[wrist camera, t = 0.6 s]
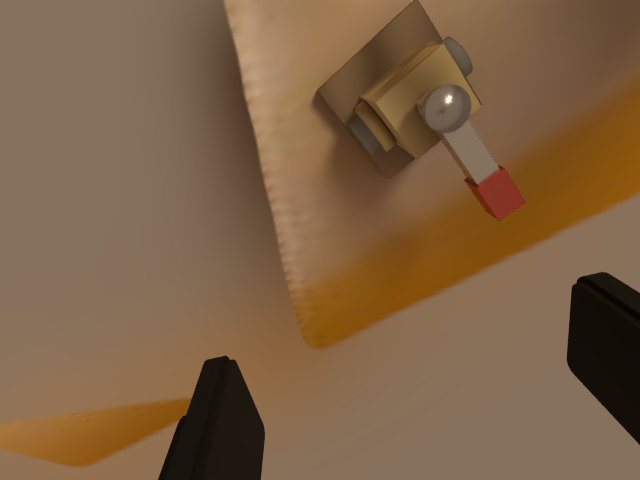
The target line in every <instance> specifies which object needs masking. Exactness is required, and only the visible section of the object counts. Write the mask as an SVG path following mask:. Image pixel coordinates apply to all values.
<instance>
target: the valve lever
mask: <svg viewBox="0 0 640 480" xmlns="http://www.w3.org/2000/svg"><path fill="white" fill-rule="evenodd" d="M415 103H416V110H417V113H418V115H419V116H420V117H421V118H423V121H424V123H425V124H426V125H427V126H428V127H429V128H430V129H432V130H434V131H435V132H436V133H437V135H438V136H439V138H440V139H441V141H442V142H443V144H444V145H445V146H446V148H447V149H448V151H449V152H450V154H451V155H452V157H453V158H454V160H455V161H456V162H457V164H458V165H459V167H460V168H461V170H462V171H463V173H464V174H465V176H466V177H467V178H466V179H465V180H464V181H465V182H466V183H467V185H468V186H469V188H470V189H471V191H472V192H473V194H474V195H475V196H476V198H477V199H478V201H479V202H480V204H481V205H482V206H483V208H484V209H485V211H486V212H488V213H489V214H490V215H492V216H493V217H494V218H496V219H497V220H498V221H500V220H502V219H503V218H504V217H506V216H507V215H509V214H510V213H512V212H513V211H514V210H516V209H517V208H519V207H520V206H522V205H523V204H525V203H526V201H525V200H524V198H523V197H522V195H521V194H520V192H519V190H518V189H517V187H516V186H515V184H514V182H513V181H512V179H511V178H510V176H509V174H508V173H507V171H506V170H505V168H503V167H501V166H499V165H497V164H496V162H495V161H494V159H493V158H492V156H491V154H490V153H489V151H488V150H487V148H486V147H485V145H484V143H483V142H482V140H481V139H480V137H479V136H478V134H477V132H476V131H475V129H474V128H473V126H472V125H471V123H470V121H469V120H468V117H469V115H470V112H471V99H470V96H469V94H468V93H467V91H466V90H465V89H464V88H462V87H460V86H458V85H451V84H436V85H435V86H434V87H432V88H431V89H430V90H429V91H426V92H424V93H423V94H421V95H420V97H419V98H418V100H417V101H416V102H415Z"/></svg>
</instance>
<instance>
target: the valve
mask: <svg viewBox="0 0 640 480" xmlns="http://www.w3.org/2000/svg"><path fill="white" fill-rule="evenodd" d="M471 72H472V63H471V61H470V58H469V56H468V55H467V53H466V52H465V50H464V49H463V47H462V46H461V45H460V44H459V43H458V42H457V41H456V40H454V39H453V38H451V37H447V38H445V39H444V40H442V38H441V37H440V35H439V33H438V32H437V30H436V28H435V27H434V25H433V24H432V22H431V20H430V19H429V17H428V15H427V14H426V12H425V10H424V9H423V7H422V6H421V4H420V2H419V1H418V0H414V1H412V2H411V3H410V4H409V5H408V6H407V7H406V8H405V9H404V10H403V11H402V12H400V13H399V14H398V15H397V16H396V17H395V18H394V19H393V20H392V21H391V22H390V23H389V24H388V25H386V26H385V27H384V28H383V29H382V30H381V31H380V32H379V33H378V34H377V35H376V36H375V37H374V38H373V39H371V40H370V41H369V42H368V43H367V44H366V45H365V46H364V47H363V48H362V49H361V50H360V51H359V52H357V53H356V54H355V55H354V56H353V57H352V58H351V59H350V60H349V61H348V62H347V63H346V64H345V65H344V66H342V67H341V68H340V69H339V70H338V71H337V72H336V73H335V74H334V75H333V76H332V77H331V78H330V79H328V80H327V81H326V82H325V83H324V84H323V85H322V86H321V87H320V88H319V89H318V90H317V91H318V92H319V94H320V95H321V96H322V97H323V99H324V100H325V101H326V102H327V104H328V105H329V106H330V108H331V109H332V110H333V111H334V113H335V114H336V115H337V116H338V118H339V119H340V120H341V121H342V123H343V124H344V125H345V126H346V128H347V129H348V130H349V131H350V133H351V134H352V135H353V137H354V138H355V139H356V140H357V142H358V143H359V144H360V145H361V147H362V148H363V149H364V150H365V152H366V153H367V154H368V155H369V157H370V158H371V159H372V160H373V162H374V163H375V164H376V166H377V167H378V168H379V169H380V171H381V172H382V173H383V174H384V176H385V177H386V178H387V179H390V178H391V177H392V176H393V175H395V174H396V173H397V172H398V171H400V170H401V169H402V168H403V167H405V166H406V165H407V164H408V163H410V162H411V161H412V160H413V159H415V158H416V159H418V158H419V157H420V156H421V155H423V154H424V153H425V152H426V151H428V150H429V149H430V148H431V147H433V146H434V145H435V144H436V143H438V142H439V141H440V140H441V139H440V138H439V136H438V135H437V133H436V132H435V131H434V130H432V129H430V128H429V127H428V126H427V125H426V124H425V123H424V121H423V118H421V117H420V116H419V115H418V113H417V110H416V103H415V102H416V101H417V100H418V98H419V97H420V95H421V94H423V93H424V92H426V91H429V90H430V89H431V88H432V87H434V86H435V85H436V84H451V85H458V86H460V87H462V88H464V89H465V90H466V91H467V93H468V94H469V96H470V99H471V112H470V115H469V117H470V116H472V115H473V114H474V113H475V112H477V111H478V110H479V109H480V108H482V106H481V105H482V104H481V102H480V101H479V99H478V97H477V96H476V94H475V92H474V91H473V89H472V87H471V86H470V84H469V83H468V81H467V79H466V78H465V77H466V76H467V75H469V74H470V73H471ZM469 117H468V118H469Z"/></svg>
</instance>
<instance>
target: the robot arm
mask: <svg viewBox="0 0 640 480" xmlns="http://www.w3.org/2000/svg"><path fill="white" fill-rule="evenodd" d="M570 308H571V309H570V322H569V335H568V349H567V363H568V366H569V368H570V369H571V371H572V373H573V374H574V375H575V376H576V377H577V378H578V379H579V380H580V381H581V382H582V383H583V385H584V386H585V387H586V388H587V389H588V390H589V391H590V392H591V393H592V394H593V395H594V396H595V397H596V398H597V399H598V401H599V402H600V403H601V404H602V405H603V406H604V407H605V408H606V409H607V410H608V411H609V412H610V413H611V415H612V416H613V417H614V418H615V419H616V420H617V421H618V422H619V423H620V424H621V425H622V426H623V427H624V429H626V431H627V432H628V433H629V434H630V435H631V436H632V437H633V438H634V439H635V440H636V441H637V442H638V444H639V445H640V293H639V292H637V291H636V290H634V289H632V288H631V287H629V286H628V285H626V284H624V283H623V282H621V281H620V280H618V279H616V278H615V277H613V276H612V275H610V274H608V273H606V272H605V273H604V272H601V273H596V274H592V275H588V276H583V277H580V278H579V279H578V280H577V283H576V284H574V285H573V286H572V293H571V307H570ZM264 440H265V431H264V425H263V423H262V420H261V418H260V415H259V413H258V411H257V408H256V406H255V404H254V402H253V399H252V397H251V395H250V392H249V390H248V388H247V385H246V383H245V381H244V378H243V376H242V374H241V371H240V369H239V367H238V365H237V362H236V361H235V360H230V359H229V358H228V357H227V356H222V357H218V358H213V359H209V360H206V361H205V362H204V364H203V367H202V370H201V373H200V376H199V379H198V382H197V385H196V388H195V391H194V394H193V397H192V400H191V403H190V406H189V409H188V411H187V414H186V415H185V416H183V417H182V418H181V419H180V421H179V423H178V425H177V428H176V431H175V433H174V436H173V439H172V442H171V445H170V448H169V450H168V453H167V456H166V459H165V462H164V464H163V467H162V470H161V473H160V476H159V479H158V480H261V471H262V460H263V451H264Z"/></svg>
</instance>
